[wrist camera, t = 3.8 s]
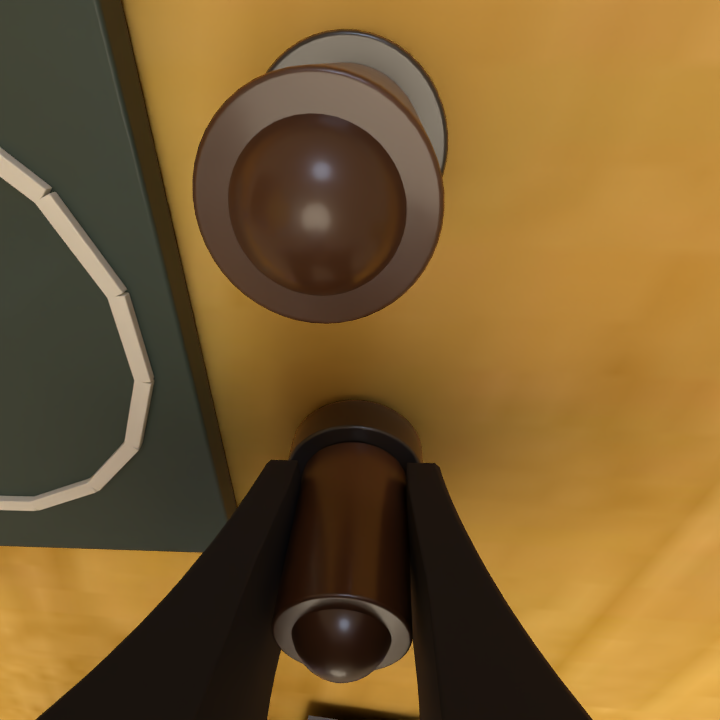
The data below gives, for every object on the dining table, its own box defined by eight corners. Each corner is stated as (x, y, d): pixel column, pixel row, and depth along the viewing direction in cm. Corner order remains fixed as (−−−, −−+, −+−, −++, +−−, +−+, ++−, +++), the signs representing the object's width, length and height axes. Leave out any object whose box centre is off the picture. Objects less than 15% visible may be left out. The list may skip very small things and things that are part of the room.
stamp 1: (340, 264, 10) (298, 435, 5) (222, 127, 8) (39, 201, 4) (478, 157, 8) (574, 264, 4) (363, -21, 7) (324, -142, 3)
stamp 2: (349, 512, 13) (328, 738, 9) (266, 440, 12) (195, 661, 8) (446, 460, 12) (480, 692, 8) (367, 376, 11) (350, 592, 6)
